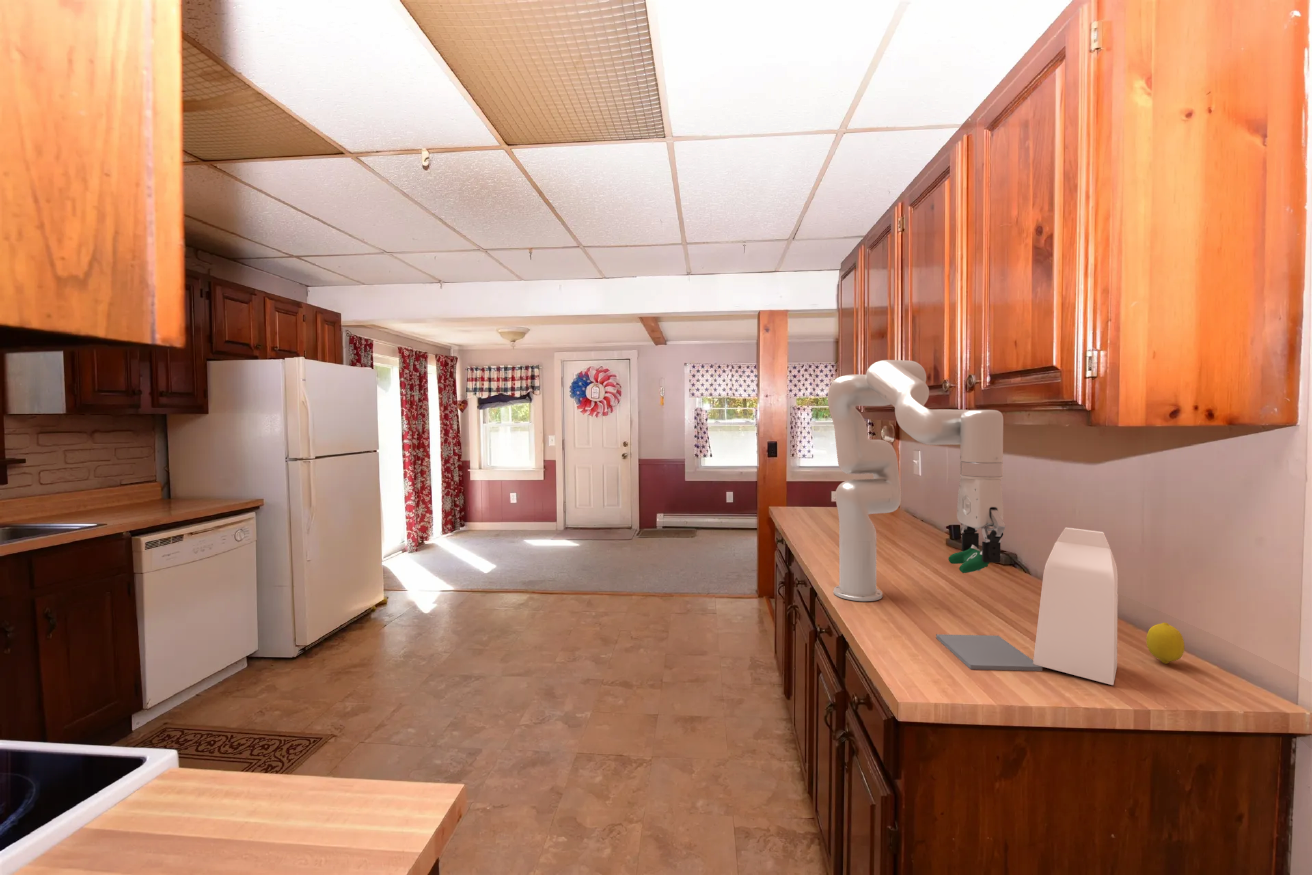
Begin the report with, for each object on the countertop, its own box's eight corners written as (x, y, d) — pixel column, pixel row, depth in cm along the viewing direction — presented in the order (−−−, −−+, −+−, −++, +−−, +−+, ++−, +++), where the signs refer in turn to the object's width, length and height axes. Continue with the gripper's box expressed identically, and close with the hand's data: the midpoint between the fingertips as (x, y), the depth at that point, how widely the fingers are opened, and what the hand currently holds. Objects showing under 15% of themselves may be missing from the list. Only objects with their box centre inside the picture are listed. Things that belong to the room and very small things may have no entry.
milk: (1032, 663, 109) (1041, 528, 109) (1042, 647, 118) (1050, 522, 117) (1113, 685, 101) (1123, 539, 101) (1117, 666, 110) (1126, 531, 109)
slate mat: (936, 637, 125) (936, 634, 125) (998, 639, 124) (998, 635, 124) (970, 669, 109) (970, 665, 109) (1042, 670, 108) (1042, 666, 108)
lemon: (1139, 660, 113) (1140, 620, 112) (1156, 655, 115) (1157, 616, 115) (1173, 671, 108) (1174, 629, 107) (1190, 666, 110) (1191, 625, 109)
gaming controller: (973, 583, 112) (997, 563, 111) (958, 569, 113) (983, 549, 112) (958, 571, 122) (981, 552, 120) (945, 558, 122) (967, 539, 121)
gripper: (943, 467, 125) (943, 547, 125) (982, 474, 108) (981, 567, 108) (979, 467, 124) (978, 547, 125) (1024, 475, 107) (1023, 568, 107)
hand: (980, 556), depth 116 cm, fingers closed on gaming controller, 8 cm apart
